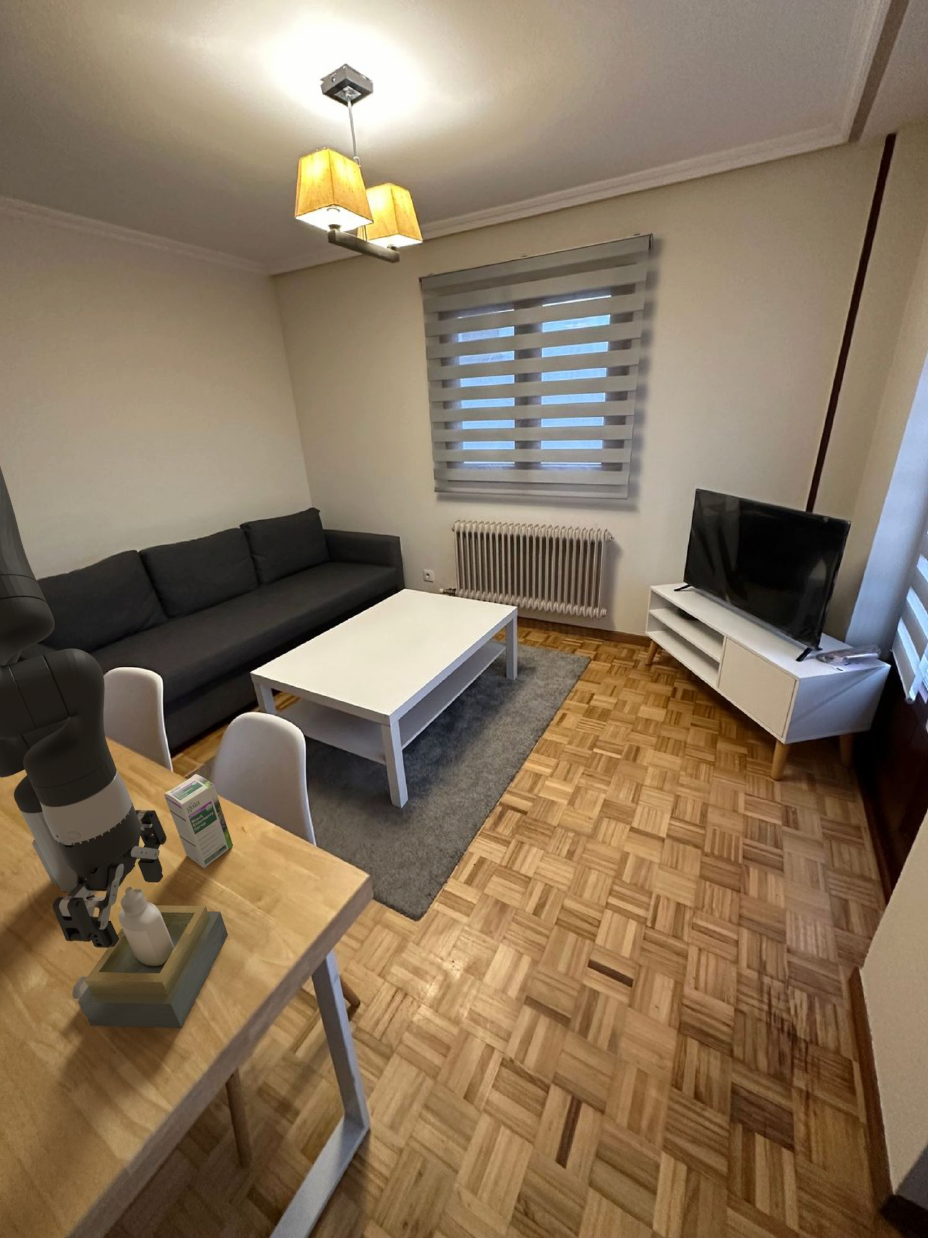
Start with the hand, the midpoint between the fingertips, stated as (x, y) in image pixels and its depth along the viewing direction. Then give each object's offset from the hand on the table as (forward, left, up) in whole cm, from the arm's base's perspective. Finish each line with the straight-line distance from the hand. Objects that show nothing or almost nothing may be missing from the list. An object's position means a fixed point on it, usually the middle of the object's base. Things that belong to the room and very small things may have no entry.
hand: (133, 910), depth 61 cm
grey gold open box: (-1, 0, -14) cm, 14 cm away
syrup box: (-5, +21, -14) cm, 26 cm away
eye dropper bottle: (0, 0, -9) cm, 9 cm away
